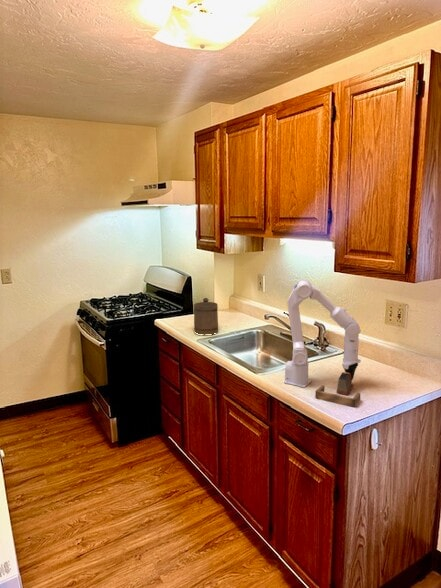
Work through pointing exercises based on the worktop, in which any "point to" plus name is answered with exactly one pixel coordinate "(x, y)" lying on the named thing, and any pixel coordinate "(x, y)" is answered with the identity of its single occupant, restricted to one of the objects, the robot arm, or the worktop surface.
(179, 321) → the worktop surface
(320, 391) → the cradle
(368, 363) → the worktop surface
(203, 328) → the wooden container
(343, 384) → the electronic device
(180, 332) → the worktop surface
